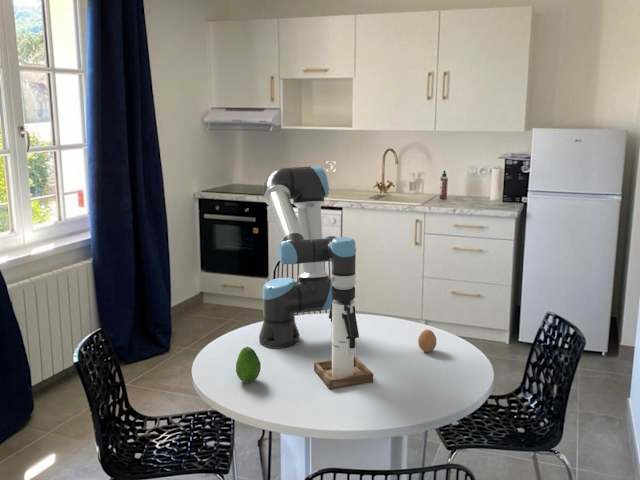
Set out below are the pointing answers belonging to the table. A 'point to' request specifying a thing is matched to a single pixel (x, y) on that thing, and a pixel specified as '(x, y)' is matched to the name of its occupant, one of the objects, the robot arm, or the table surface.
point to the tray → (360, 377)
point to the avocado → (248, 365)
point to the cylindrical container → (340, 343)
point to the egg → (427, 340)
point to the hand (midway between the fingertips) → (343, 348)
